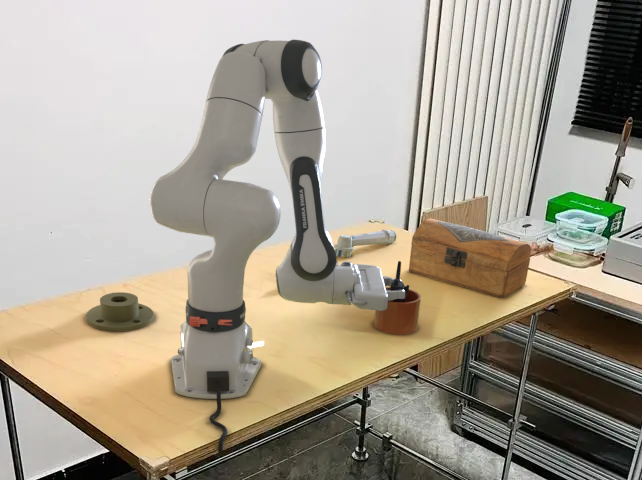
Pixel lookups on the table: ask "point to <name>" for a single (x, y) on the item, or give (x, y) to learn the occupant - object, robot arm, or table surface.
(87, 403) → the table surface
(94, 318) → the flange
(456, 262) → the wooden box
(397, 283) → the two-way radio
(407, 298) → the brown round pot
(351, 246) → the toothbrush head
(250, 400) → the table surface
